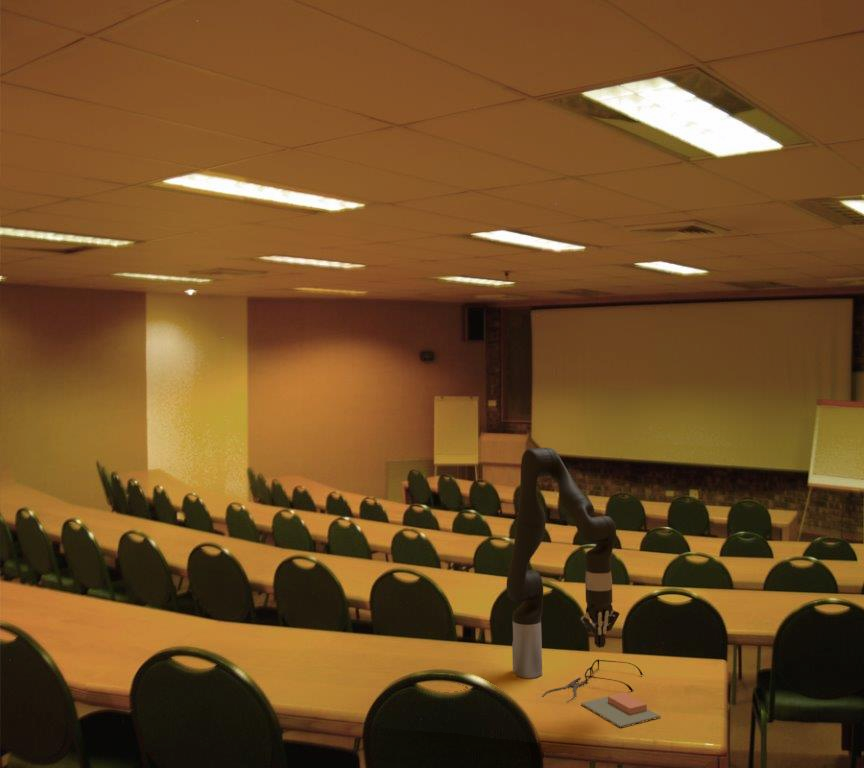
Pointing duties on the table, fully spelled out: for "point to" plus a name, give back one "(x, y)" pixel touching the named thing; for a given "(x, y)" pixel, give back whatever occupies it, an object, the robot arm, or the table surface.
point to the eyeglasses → (604, 678)
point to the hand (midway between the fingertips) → (600, 646)
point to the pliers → (572, 684)
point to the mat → (618, 713)
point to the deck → (627, 703)
